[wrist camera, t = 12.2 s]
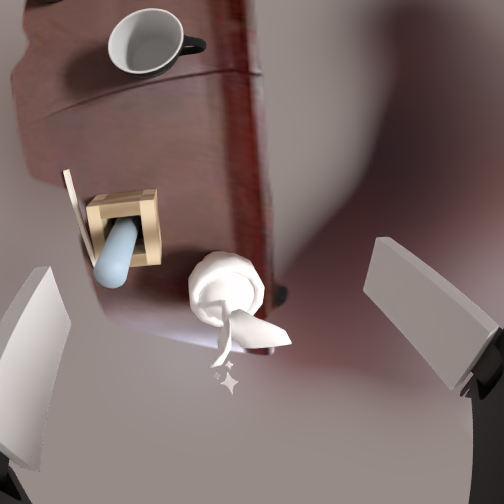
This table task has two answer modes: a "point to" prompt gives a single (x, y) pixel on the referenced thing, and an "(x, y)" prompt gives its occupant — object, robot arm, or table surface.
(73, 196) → the white thin rod
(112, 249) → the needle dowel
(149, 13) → the mug
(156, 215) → the wooden box
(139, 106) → the table surface
